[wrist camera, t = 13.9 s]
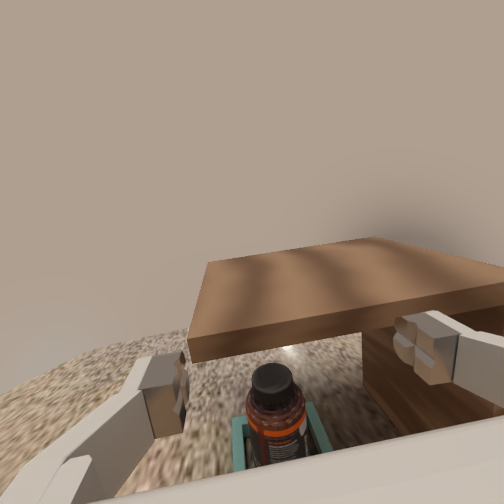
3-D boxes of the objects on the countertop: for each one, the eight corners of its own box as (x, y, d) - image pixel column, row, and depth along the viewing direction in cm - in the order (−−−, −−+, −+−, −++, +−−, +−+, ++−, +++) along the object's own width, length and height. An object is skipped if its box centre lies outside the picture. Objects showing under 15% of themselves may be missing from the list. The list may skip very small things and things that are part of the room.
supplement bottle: (324, 473, 24) (317, 379, 22) (278, 517, 21) (263, 415, 19) (287, 428, 29) (277, 348, 27) (246, 459, 26) (230, 373, 24)
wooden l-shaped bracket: (243, 601, 17) (186, 339, 12) (234, 411, 33) (207, 262, 28) (501, 530, 19) (538, 275, 14) (376, 381, 34) (373, 236, 30)
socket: (238, 547, 20) (235, 530, 19) (233, 430, 30) (231, 417, 30) (356, 517, 21) (355, 500, 20) (313, 413, 31) (312, 400, 30)
